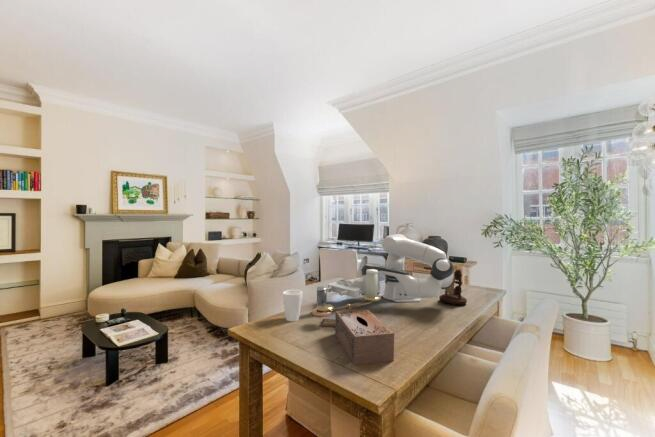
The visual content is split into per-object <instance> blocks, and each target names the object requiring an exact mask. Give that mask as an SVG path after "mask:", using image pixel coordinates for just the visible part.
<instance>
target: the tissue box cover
mask: <svg viewBox="0 0 655 437" xmlns="http://www.w3.org/2000/svg"><path fill="white" fill-rule="evenodd" d="M334 315H335V318H334V319H335V327H334V329H335V330H334V334H335V336H336V338H337V339H338V341H339V342H340V344H341V346H342V347H343V349H344V351H345V352H346V354H347V355H348V357H349V358H350V360H351V362H352V363H353V365H354V366H361V365H369V364H379V363H386V362H394V361H395V333H394V331H393V330H391V329H390V328H389V327H388V326H387V325H386V324H384V323H383V322H382V320H380V319H379V318H378V317H377V316H376V315H374V313H372V312H371V311H370V310H369V309H368V308H364V309H350V310H347V311H346V310H338V311H335V314H334Z"/></svg>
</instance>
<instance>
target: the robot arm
mask: <svg viewBox="0 0 655 437" xmlns="http://www.w3.org/2000/svg"><path fill="white" fill-rule="evenodd" d="M381 249H382V250H383V251H384V252H385V253H388V255H387V259H386V261H385V266H381V265H377V264H373V263H367V264H364V265H363V266H362V268H361V270H360V271H361V276H362V277H356V278H352V279H351V278H350V279H338V280H337V281H334V282H332V281H331V282H329V283H328V284H327V293H330V292H332V293H336V294H338V295H339V296H348V297H352V298H356V297H358V296H360V295H361V296H363V295H366V270H367V269H375V270H378V278H377V295H380V293H381V286H380V285H381V283H380V281H381V280H380V275H384V289H383V290H384V291H383V294H382V297H383V298H384V299H386V300H389V301H392V302H395V303H396V302H397V303H401V302H402V303H403V302H405V303H406V302H409V303H411V302H421V301H422V299H433V298H439V296H440V295H441V293H442V290H445V289H447V288H449V287H450V286H451V285H452V283H453V278H454V272H455V271H454V270H455V269H454V265H453V262H451V260H449V259H448V258H447V254H446V252H445V251H443V250H441V249H439V248H437V247H435V246H433V245H430V244H427V243H424V242H421V241H417V240H413V239H409V238H407V236H406V235H404V234H402V233H395V234H389V235H387V236H386V237H384V238H383V239H382V241H381ZM406 258H407V259H410V260H413V261H416V262H419V263H422V264H424V265H427V266H429V267H431V268H430V272H429V273H430V275H429V276H426V277H421V276H420V277H419V276H418V277H417V276H414V275H411V274H410V273H409V272H408V271H407V270H405V261H406ZM453 271H454V272H453Z"/></svg>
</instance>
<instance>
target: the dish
mask: <svg viewBox="0 0 655 437" xmlns="http://www.w3.org/2000/svg"><path fill="white" fill-rule="evenodd" d="M311 314H312V315H313V316H315V317H321V318H322V317H328V316H331V315H332V312H328V313H325V312H324V313H320V312H317V307H315V308H313V309H312V310H311Z"/></svg>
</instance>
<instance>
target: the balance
mask: <svg viewBox="0 0 655 437" xmlns="http://www.w3.org/2000/svg"><path fill="white" fill-rule="evenodd" d="M362 299H363V300H364V301H361V302H355V303H351V304H350V303H346V304H345V305H342V306H337V307H335V306H334V305H332V304H320V305H318V306H317V305H316V308H317V310H319V311H324V312H325V313H328V312H331V313H333V312H336V311H343V310H345V311H347V310H351V308H355V307H361V306H366V305H370V304H372V303H373V302H377V301H380V300H381V295H380V294H378V295H377V298H368V297H366V295H362ZM320 324H321V325H320V327H329V328H335V318H334V319H333V318H323V319H322V320H321V323H320Z"/></svg>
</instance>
